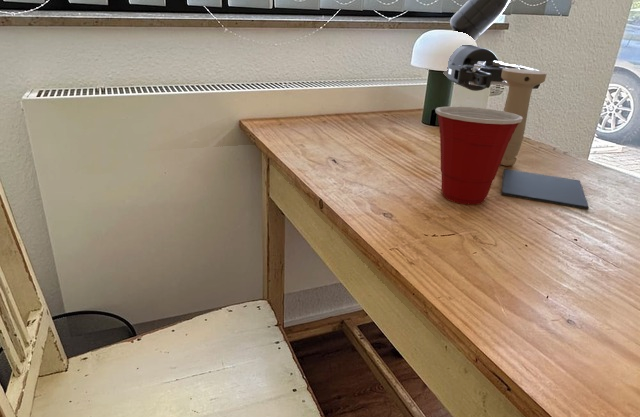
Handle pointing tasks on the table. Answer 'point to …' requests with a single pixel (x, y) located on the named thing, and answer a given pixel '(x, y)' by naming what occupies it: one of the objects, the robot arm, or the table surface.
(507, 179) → the mat
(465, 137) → the plastic cup
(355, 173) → the table surface
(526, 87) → the handle
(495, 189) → the table surface
